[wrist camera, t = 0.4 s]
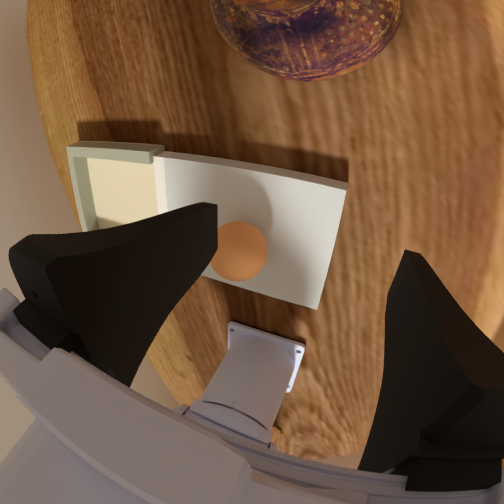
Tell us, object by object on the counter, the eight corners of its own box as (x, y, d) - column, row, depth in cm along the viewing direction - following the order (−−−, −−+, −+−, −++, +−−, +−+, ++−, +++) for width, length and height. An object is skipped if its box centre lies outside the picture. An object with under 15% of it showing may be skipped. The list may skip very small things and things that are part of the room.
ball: (272, 266, 22) (253, 300, 19) (223, 252, 23) (198, 283, 20) (278, 218, 20) (257, 249, 17) (223, 206, 21) (194, 232, 18)
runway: (320, 297, 24) (316, 309, 23) (173, 254, 28) (164, 263, 26) (348, 182, 18) (346, 190, 17) (164, 151, 22) (153, 156, 21)
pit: (173, 258, 28) (162, 270, 26) (97, 233, 31) (85, 242, 29) (164, 145, 22) (149, 151, 20) (81, 140, 24) (66, 146, 23)
